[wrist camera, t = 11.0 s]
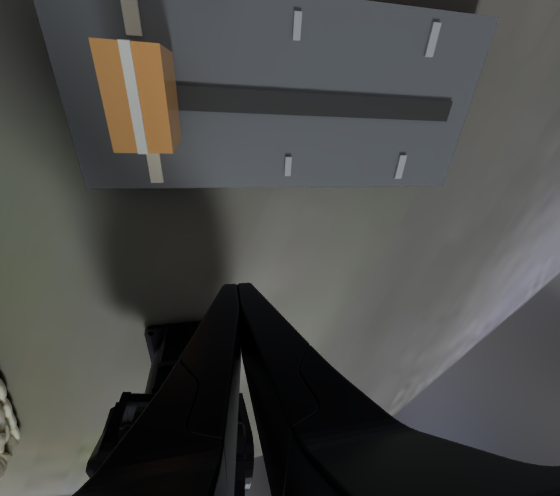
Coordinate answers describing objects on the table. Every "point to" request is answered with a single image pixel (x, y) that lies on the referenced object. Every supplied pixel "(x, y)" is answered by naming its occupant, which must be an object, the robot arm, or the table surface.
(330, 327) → the table surface
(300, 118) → the fader panel
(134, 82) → the fader knob
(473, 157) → the table surface
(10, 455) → the storage basket
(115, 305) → the table surface
